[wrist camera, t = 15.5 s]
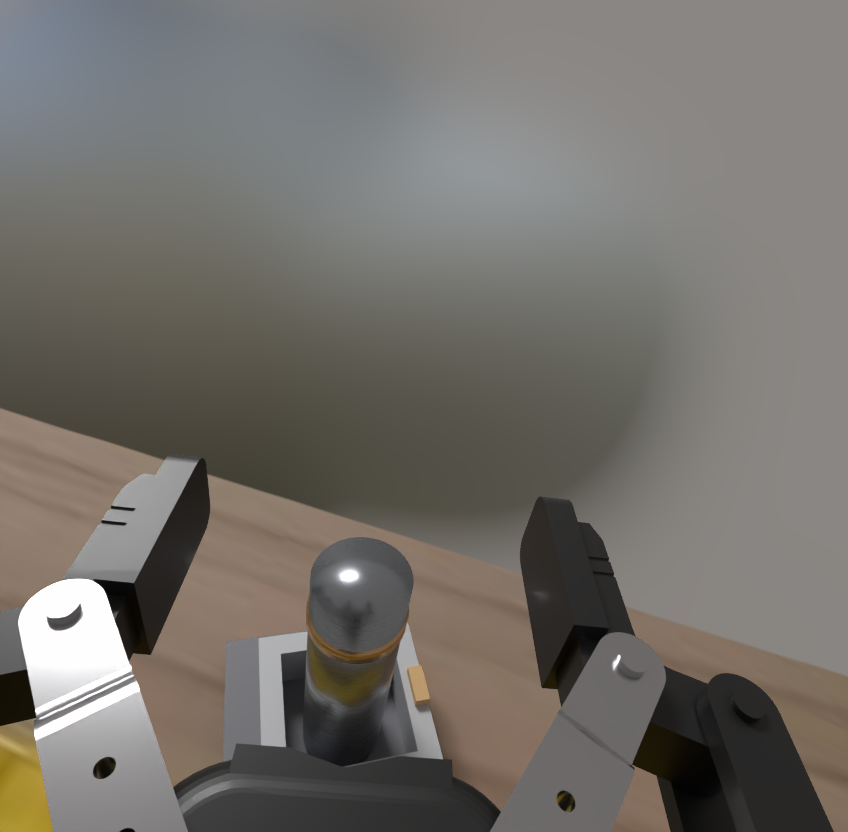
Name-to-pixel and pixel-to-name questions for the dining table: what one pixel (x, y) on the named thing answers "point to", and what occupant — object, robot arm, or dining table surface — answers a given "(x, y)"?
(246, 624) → the dining table surface
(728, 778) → the robot arm
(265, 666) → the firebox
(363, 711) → the metal canister
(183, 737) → the dining table surface
